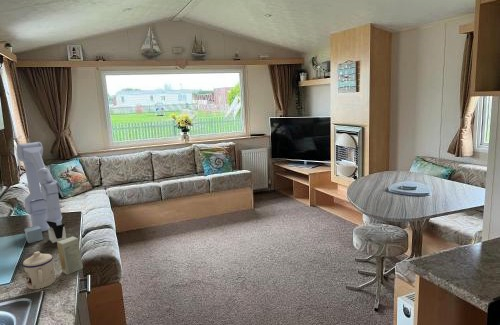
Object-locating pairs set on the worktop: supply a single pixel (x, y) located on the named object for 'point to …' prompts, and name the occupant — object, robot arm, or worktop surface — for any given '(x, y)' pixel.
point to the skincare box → (70, 255)
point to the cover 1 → (33, 234)
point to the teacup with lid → (39, 270)
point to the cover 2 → (53, 237)
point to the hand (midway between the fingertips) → (57, 236)
